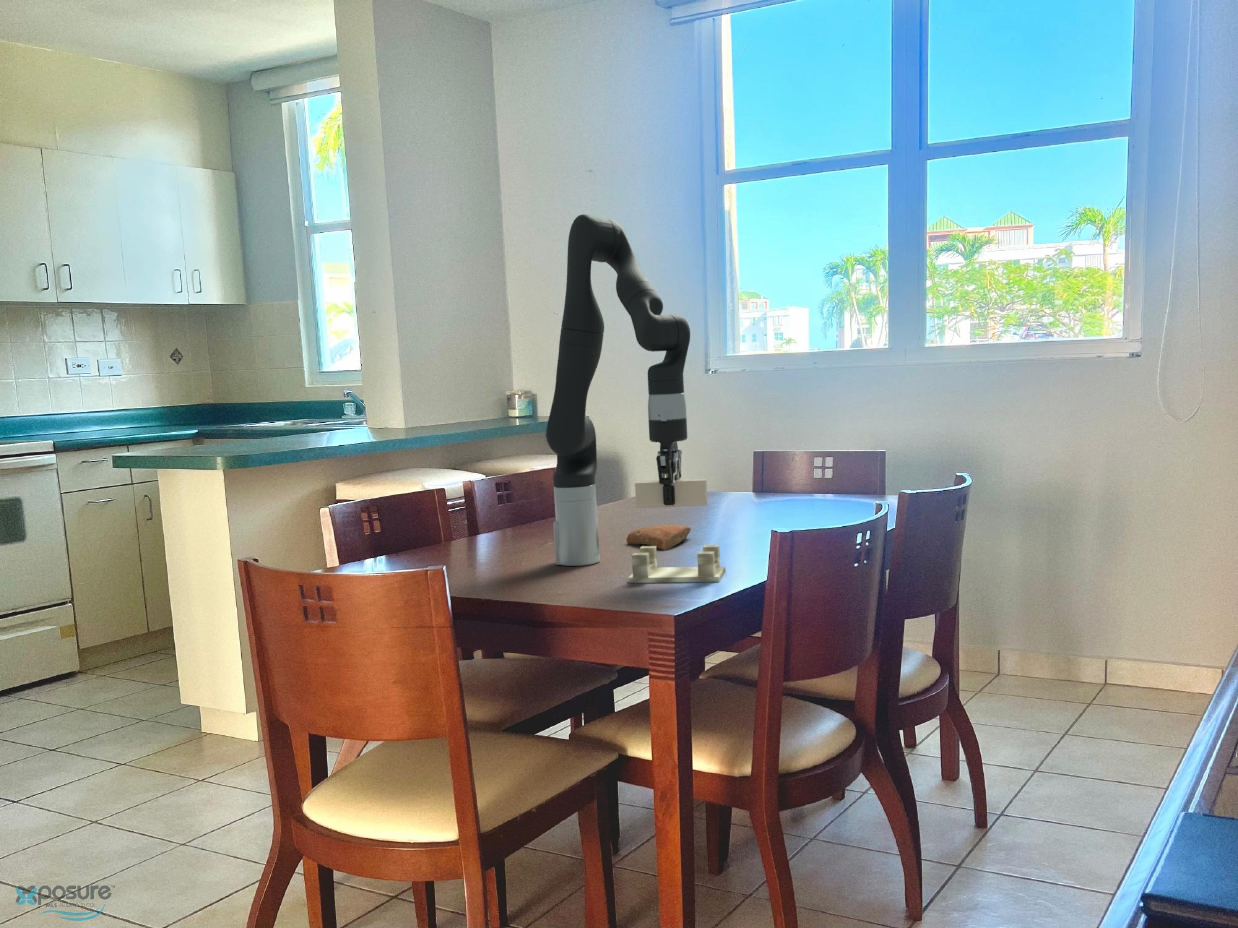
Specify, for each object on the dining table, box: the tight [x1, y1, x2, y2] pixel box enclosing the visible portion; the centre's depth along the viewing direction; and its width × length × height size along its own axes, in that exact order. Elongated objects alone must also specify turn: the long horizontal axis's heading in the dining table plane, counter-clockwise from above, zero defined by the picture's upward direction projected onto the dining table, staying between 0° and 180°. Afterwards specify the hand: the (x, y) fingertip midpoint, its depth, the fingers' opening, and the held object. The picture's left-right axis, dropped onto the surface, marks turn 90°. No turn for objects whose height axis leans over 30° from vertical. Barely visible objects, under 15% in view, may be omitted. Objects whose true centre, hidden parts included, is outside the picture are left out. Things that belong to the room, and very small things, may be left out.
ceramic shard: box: [625, 524, 692, 551], centre depth 246 cm, size 15×6×15 cm
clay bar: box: [634, 477, 708, 509], centre depth 203 cm, size 14×4×5 cm, turn 84°
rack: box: [627, 544, 726, 584], centre depth 205 cm, size 18×10×6 cm, turn 77°
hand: (671, 502), depth 204 cm, fingers closed on clay bar, 4 cm apart
